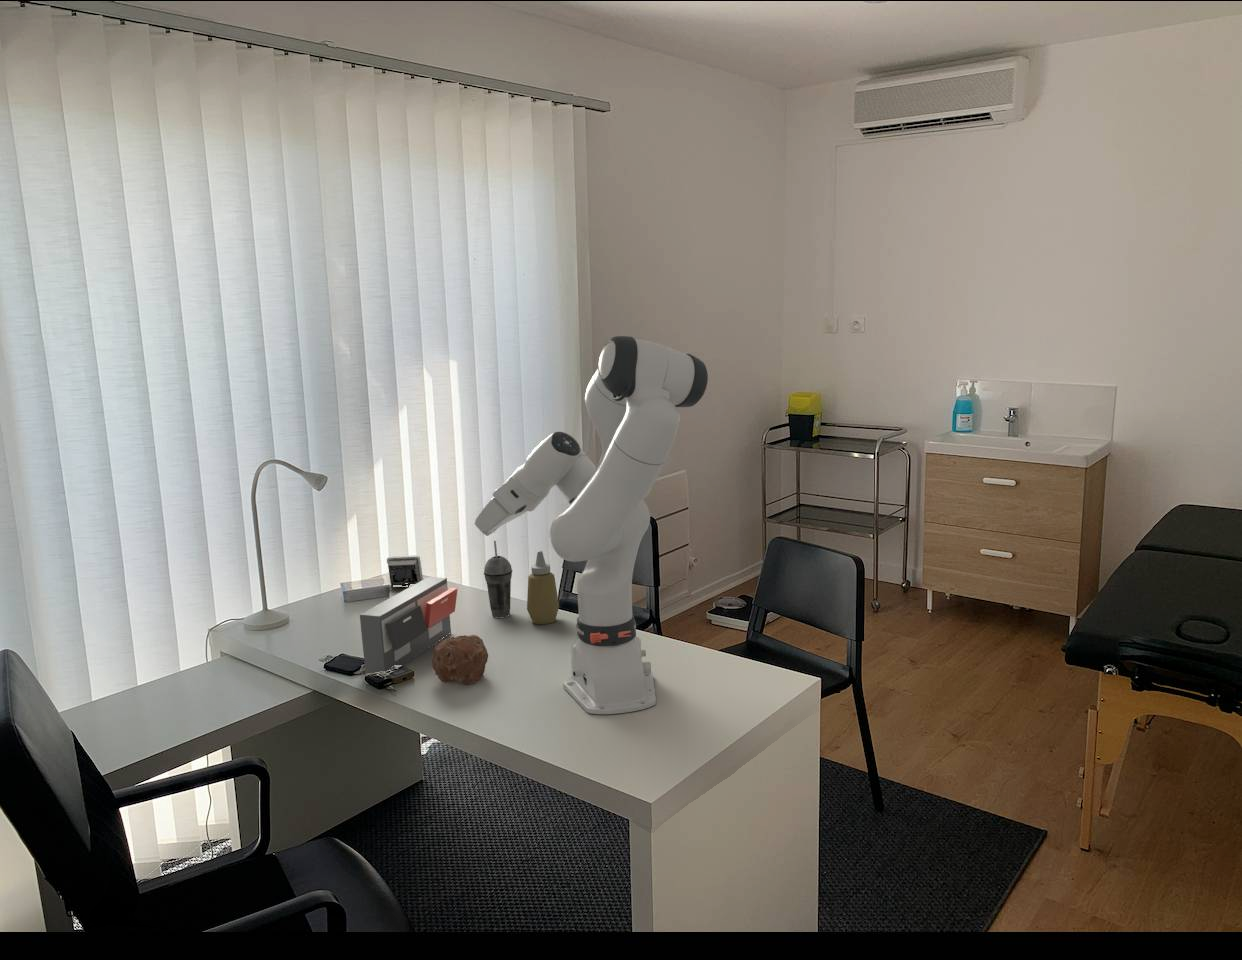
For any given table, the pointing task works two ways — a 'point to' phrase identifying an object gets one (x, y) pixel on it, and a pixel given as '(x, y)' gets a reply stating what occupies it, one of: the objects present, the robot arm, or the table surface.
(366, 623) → the switch panel
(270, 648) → the table surface
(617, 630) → the robot arm
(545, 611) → the squeeze bottle
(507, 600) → the beverage cup
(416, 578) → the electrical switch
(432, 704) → the table surface
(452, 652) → the decorative rock
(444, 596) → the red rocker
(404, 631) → the panel
